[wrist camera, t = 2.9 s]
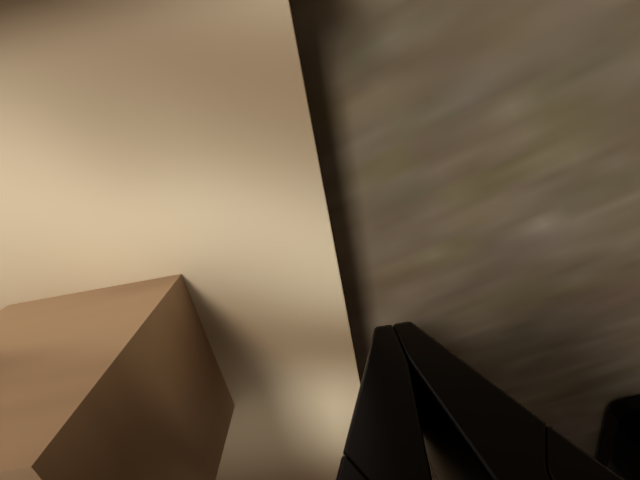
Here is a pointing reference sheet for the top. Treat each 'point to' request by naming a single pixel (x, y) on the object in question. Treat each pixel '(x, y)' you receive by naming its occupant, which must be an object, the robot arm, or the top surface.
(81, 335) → the block
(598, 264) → the top surface
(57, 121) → the box
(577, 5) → the top surface
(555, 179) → the top surface
